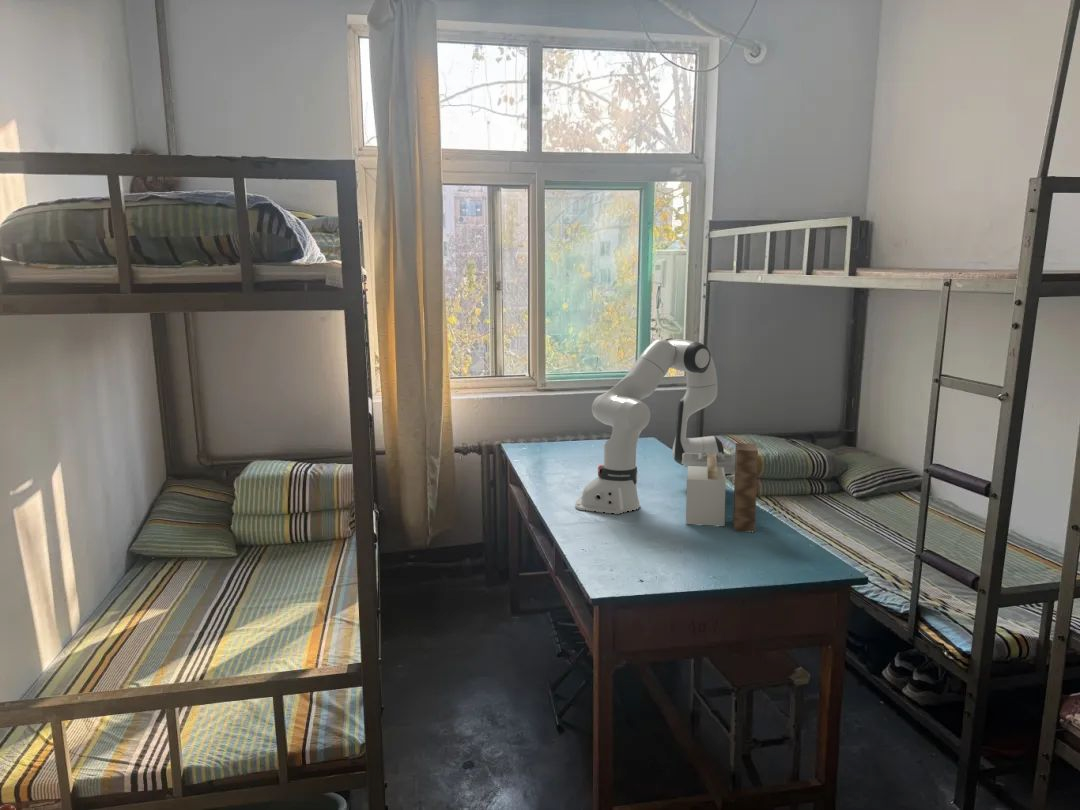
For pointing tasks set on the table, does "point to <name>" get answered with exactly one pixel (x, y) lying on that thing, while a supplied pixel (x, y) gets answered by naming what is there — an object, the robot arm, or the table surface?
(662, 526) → the table surface
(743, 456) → the post
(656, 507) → the table surface
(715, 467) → the slat
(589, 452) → the table surface
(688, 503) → the white upright block
